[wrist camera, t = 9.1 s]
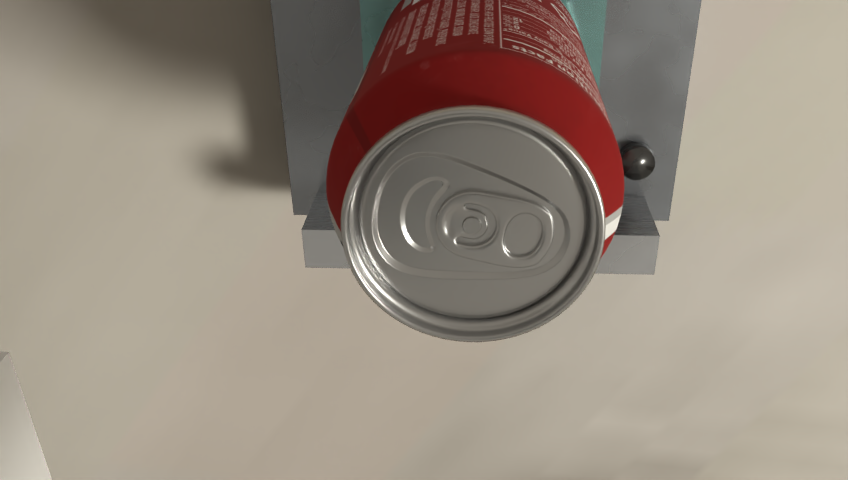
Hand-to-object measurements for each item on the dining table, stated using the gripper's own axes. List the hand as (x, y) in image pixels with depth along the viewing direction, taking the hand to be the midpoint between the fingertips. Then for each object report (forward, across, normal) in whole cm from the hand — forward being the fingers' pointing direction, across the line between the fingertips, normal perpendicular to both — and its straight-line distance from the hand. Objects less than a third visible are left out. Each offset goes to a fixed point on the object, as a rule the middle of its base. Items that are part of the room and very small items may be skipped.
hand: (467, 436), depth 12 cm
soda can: (+18, 0, 0) cm, 18 cm away
